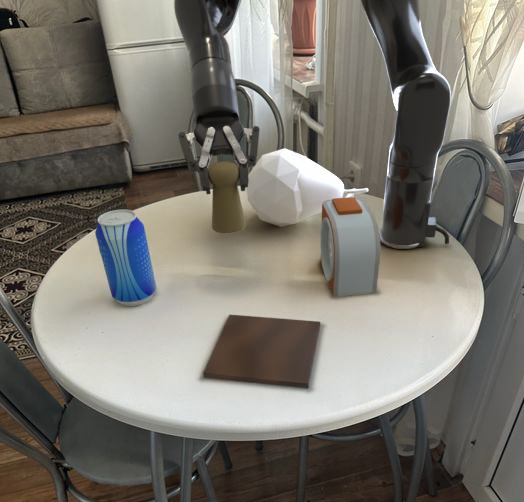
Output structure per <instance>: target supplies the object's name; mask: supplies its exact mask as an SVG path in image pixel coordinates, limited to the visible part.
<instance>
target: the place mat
mask: <svg viewBox="0 0 524 502" xmlns="http://www.w3.org/2000/svg"><path fill="white" fill-rule="evenodd" d="M320 330H321V321H318V320H306V319H294V318H293V319H292V318H280V317H266V316H252V315H241V314H240V315H239V314H229V315H228V316H227V319H226V321H225V323H224V326H223V327H222V330H221V332H220V334H219V336H218V339H217V341H216V343H215V345H214V348H213V350H212V351H211V355H210V357H209V358H208V361H207V364H206V366H205V368H204V370H203V372H202V374H203V378H205V379H214V380H224V381H231V382H232V381H233V382H242V383H243V382H244V383H253V384H263V385H273V386H280V387H281V386H282V387H283V386H284V387H290V388H291V387H292V388H300V389H301V388H302V389H309V388H310V383H311V376H312V370H313V367H314V366H313V365H314V361H315V356H316V350H317V346H318V339H319V335H320Z"/></svg>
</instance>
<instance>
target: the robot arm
mask: <svg viewBox="0 0 524 502" xmlns="http://www.w3.org/2000/svg"><path fill="white" fill-rule="evenodd" d="M241 2H242V0H174V1H173V8H174V15H175V19H176V22H177V25H178V28H179V31H180V35H181V37H182V39H183V43H184V44H185V46H186V49H187V51H188V54H189V55H188V57H189V64H190V73H191V77H190V78H191V79H190V86H191V98H192V106H193V111H194V112H193V114H194V123H195V126H194V129H193V131H192V132H189V133H185V132H184V131H181V132H179V133H178V141H179V145H180V148H181V151H182V153H183V156H184V159H185V162H186V165H187V168H188V170H189V172H191V173H194V172H197V173H198V174H199V180H200V187H201V191H202V192H205V194H206V195H211V193H212V192H211V186H210V180H209V176H208V170H209V167H210V164H211V161H212V158H213V157H215V156H220V155H225V156H226V155H228V156H229V155H230V156H231V157H232V159H233V161H235V164H236V166H237V167H238V169H239V180H238V181H239V187H240V192H245V191H246V188H247V187H248V184H249V179H248V175H249V172H248V170H249V168H250V167H254V166H255V165H256V164H257V162H258V152H259V151H258V150H259V149H258V148H259V142H260V141H259V139H260V127H259V126H257V125H255V126H253V127H252V128H249V127H244V125H243V124H242V122H241V119H240V111H239V104H238V96H237V95H238V93H237V87H236V81H235V76H234V72H233V67H232V59H231V51H230V46H229V43H228V41H227V39H226V37H225V36H226V35H227V34H228V33H229V32H230V30H231V29H232V26H233V25H234V22H235V21H236V17H237V14H238V10H239V9H240V7H241V6H240V5H241ZM360 4H361V5H362V8H363V10H364V14H365V16H366V18H367V21H368V23H369V25H370V28H371V30H372V32H373V34H374V36H375V38H376V40H377V43H378V45H379V48H380V50H381V52H382V56H383V59H384V62H385V67H386V71H387V76H388V80H389V85H390V90H391V91H390V92H391V95H392V101H393V105H394V107H395V110H396V119H395V127H394V135H393V140H392V143H391V145H389V154H388V163H387V171H386V181H385V188H384V189H385V190H384V199H383V207H382V208H383V209H382V218H381V224H380V225H381V226H380V232H379V235H380V243H381V244H383V245H384V246H387V247H389V248H393V249H399V250H410V249H411V250H412V249H415V248H424V247H425V242H426V238H433V239H434V238H435V237H436V232H438V233H440V234H442V235H443V237H444V244H445V245H448V244H450V236H449V233H448V232H447V231H446V230H445V229H443V228H441V227H439V226H438V225H437V218H436V217H434V216H430V212H431V207H432V202H431V197H432V191H433V185H434V179H435V175H436V174H435V172H436V167H437V161H438V155H439V152H440V151H441V149H442V146H443V143H444V138H445V133H446V129H447V125H448V119H449V115H450V114H449V113H450V108H451V101H452V99H451V98H452V93H451V86H450V84H449V82H448V80H447V79H446V78H445V77H444V76H443V75H442V74H441V73H439V72H438V71H437V69H436V67H435V65H434V63H433V61H432V60H433V59H432V57H431V55H430V52H429V49H428V47H427V43H426V41H425V38H424V35H423V30H422V25H421V16H420V1H419V0H360ZM243 137H245V139H246V142H247V143H248V144H250V149H249V155H247V156H245V154H244V152H243V150H242V147H241V145H240V142H241V141H242V139H243ZM194 141H196V142H197V143H198V144H199V145H200V147H201V148H202V149H201V153H200V158H199V160H196V159H195V157H194V155H193V154H194V153H193V152H192V148H193V147H194Z"/></svg>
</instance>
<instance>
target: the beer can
mask: <svg viewBox="0 0 524 502" xmlns="http://www.w3.org/2000/svg"><path fill="white" fill-rule="evenodd" d="M94 233H95V237H96V242H97V245H98V249H99V254H100V257H101V261H102V264H103V269H104V272H105V276H106V280H107V284H108V287H109V290H110V295H111V297H112V298H113V299H114V301H117V303H118V304H119V305H122V306H127V307H134V306H139V305H144V304H145V303H147V302H149V301H151V299H152V298H153V297H154V294H155V292H156V290H157V284H156V279H155V274H154V269H153V264H152V260H151V254H150V249H149V245H148V244H149V243H148V239H147V234H146V229H145V225H144V223H143V222H142V221H141V220H140V219H139V218H138V216H137V213H136V212H135V211H134V210H130V209H115V210H114V209H113V210H110V211H106V212H103V213H102V214H100V215H99V216H98V217H97V225H96V228H95V232H94Z"/></svg>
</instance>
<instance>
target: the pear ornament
mask: <svg viewBox="0 0 524 502" xmlns="http://www.w3.org/2000/svg"><path fill="white" fill-rule="evenodd" d="M248 179H249V184H248V187H246V198H247V202H248V203H249V204H250V206H251V208H252V209H253V210H254V212H255V214H256V216H258V218H259V220H260V221H263V222H266V223H268V224H271V225H274V226H277V227H280V228H284V227H287V226H291V225H295V224H297V223H300V222H302V221H305V220H307V219H309V218H311V217H314V216H316V215H318V214H320V213H322V203H323V202H324V201H326V200H331V199H334V198H344V195H346V196H345V198H347V197H354V195H356V194H365V193H368V192H369V188H368V187H365V188H351V189H345V185H344V182H342V180H341V179H340V178H339V177H337V176H336V175H335V174H334V173H332V172H330V171H329V170H327V169H326V168H325V167H323V166H321V165H320V164H318V163H316V162H315V161H313V160H311V159H310V158H308V157H307V156H305V155H302V154H300V153H298V152H296V151H292V150H290V149H288V148H286V147H285V148H281V149H278V150H274V151H271V152H268V153H264V154H262V155H261V156H260V158H259V159H258V160H257V162H256V165H255V166H253V167H252V169H251V171H250V172H249V173H248Z"/></svg>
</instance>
